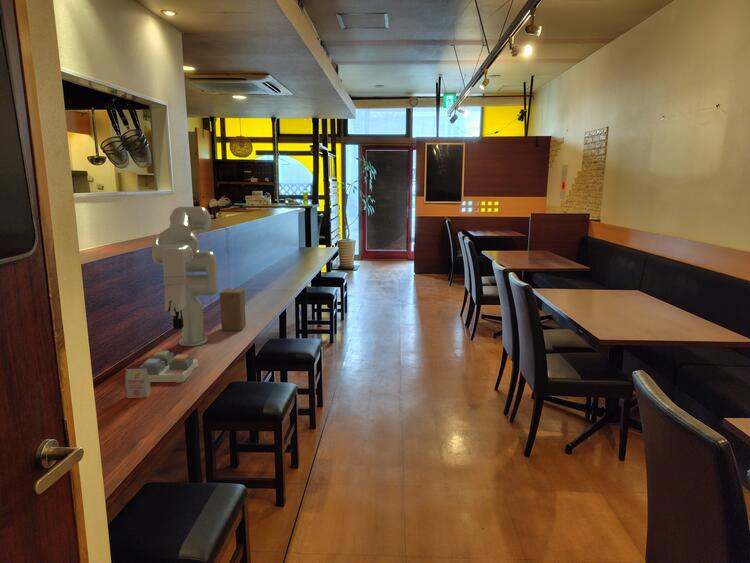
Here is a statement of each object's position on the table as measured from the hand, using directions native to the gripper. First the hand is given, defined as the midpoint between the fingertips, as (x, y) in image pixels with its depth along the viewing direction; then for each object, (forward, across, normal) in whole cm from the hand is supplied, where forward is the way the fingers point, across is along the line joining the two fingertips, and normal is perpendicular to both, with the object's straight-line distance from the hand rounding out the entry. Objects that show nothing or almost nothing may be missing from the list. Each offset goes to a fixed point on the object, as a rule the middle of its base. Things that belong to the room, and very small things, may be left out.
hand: (178, 328), depth 180 cm
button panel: (+19, 0, -5) cm, 19 cm away
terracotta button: (+14, 0, 0) cm, 14 cm away
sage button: (+14, -5, -9) cm, 17 cm away
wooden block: (+18, -61, +5) cm, 64 cm away
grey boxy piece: (+19, +19, -8) cm, 28 cm away
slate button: (+14, +4, -9) cm, 17 cm away
